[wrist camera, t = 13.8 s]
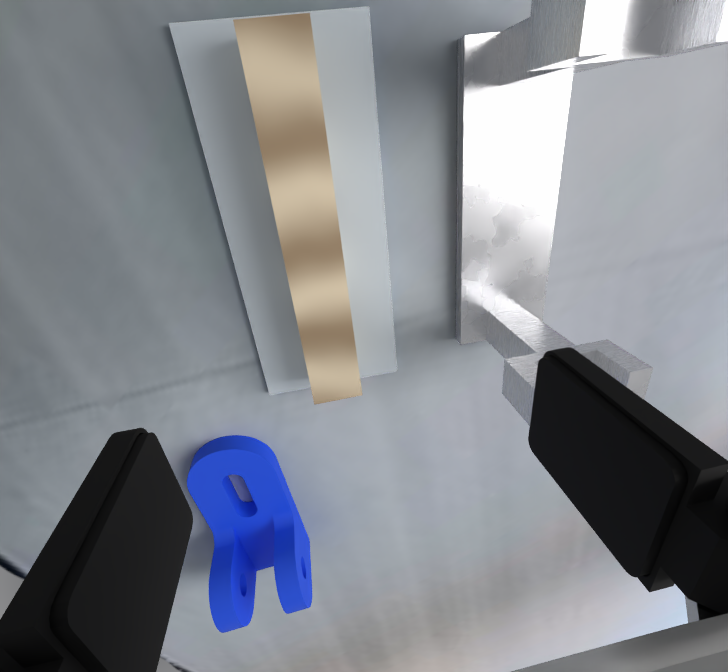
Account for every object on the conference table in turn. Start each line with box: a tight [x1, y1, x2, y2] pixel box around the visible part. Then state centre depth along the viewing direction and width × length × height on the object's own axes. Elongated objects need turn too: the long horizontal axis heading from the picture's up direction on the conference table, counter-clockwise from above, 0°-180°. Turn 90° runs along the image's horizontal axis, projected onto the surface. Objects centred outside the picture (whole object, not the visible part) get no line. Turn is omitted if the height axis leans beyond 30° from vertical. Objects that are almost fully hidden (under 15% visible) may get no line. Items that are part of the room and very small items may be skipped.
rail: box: [233, 13, 362, 404], centre depth 28 cm, size 25×4×4 cm, turn 6°
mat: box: [169, 6, 397, 395], centre depth 30 cm, size 27×12×1 cm, turn 6°
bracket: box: [187, 435, 312, 633], centre depth 37 cm, size 18×8×9 cm, turn 11°
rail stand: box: [456, 0, 728, 426], centre depth 26 cm, size 23×8×13 cm, turn 6°
